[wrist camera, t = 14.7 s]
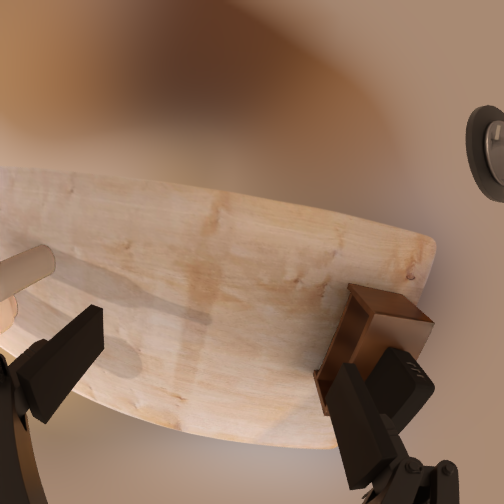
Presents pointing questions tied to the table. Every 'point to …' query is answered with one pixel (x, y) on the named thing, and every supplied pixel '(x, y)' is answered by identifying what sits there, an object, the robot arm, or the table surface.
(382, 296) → the shelf
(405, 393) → the electronic device
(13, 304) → the vase
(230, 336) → the table surface
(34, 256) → the bottle
